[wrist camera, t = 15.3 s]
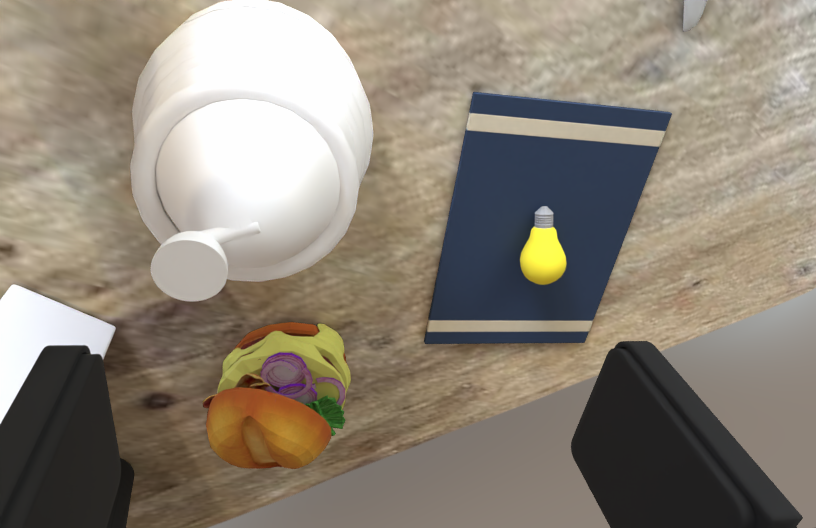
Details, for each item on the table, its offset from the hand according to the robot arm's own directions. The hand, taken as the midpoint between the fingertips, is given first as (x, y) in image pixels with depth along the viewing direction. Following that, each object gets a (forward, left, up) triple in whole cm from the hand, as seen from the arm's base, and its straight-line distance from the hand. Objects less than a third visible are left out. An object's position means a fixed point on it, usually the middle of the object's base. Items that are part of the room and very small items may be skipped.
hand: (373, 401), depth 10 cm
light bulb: (+11, +18, -28) cm, 35 cm away
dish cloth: (+11, +18, -28) cm, 35 cm away
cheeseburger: (+24, -1, -28) cm, 37 cm away
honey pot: (+3, -3, -28) cm, 29 cm away
